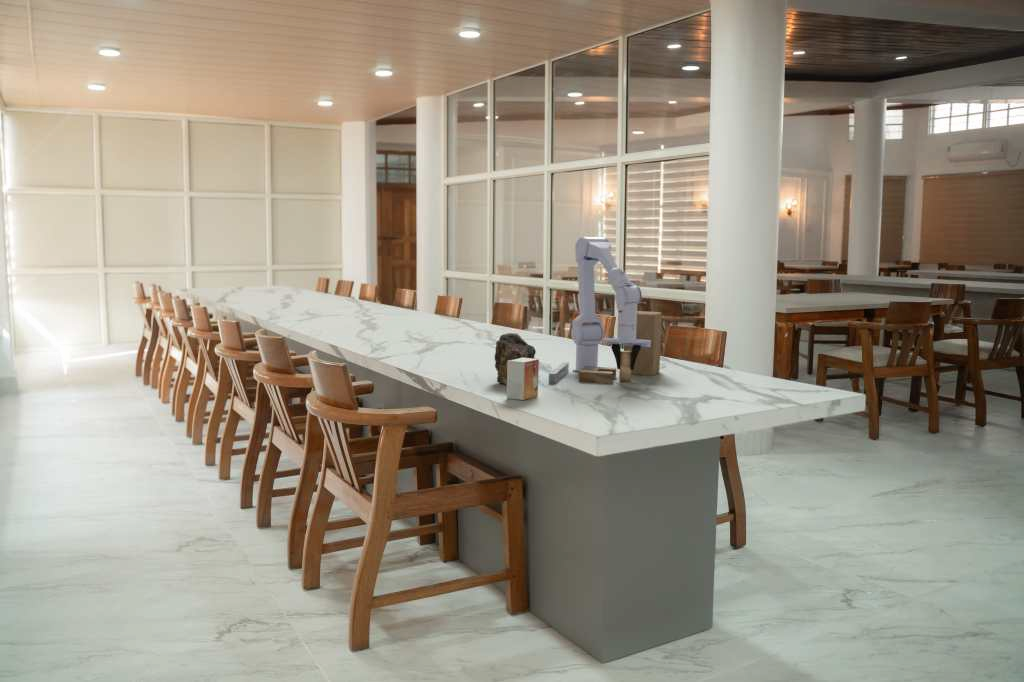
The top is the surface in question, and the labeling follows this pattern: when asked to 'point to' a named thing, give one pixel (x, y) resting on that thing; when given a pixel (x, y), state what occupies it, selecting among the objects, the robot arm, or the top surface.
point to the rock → (510, 353)
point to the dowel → (625, 366)
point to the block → (597, 374)
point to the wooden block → (650, 356)
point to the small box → (522, 378)
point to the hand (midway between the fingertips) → (625, 369)
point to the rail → (558, 373)
